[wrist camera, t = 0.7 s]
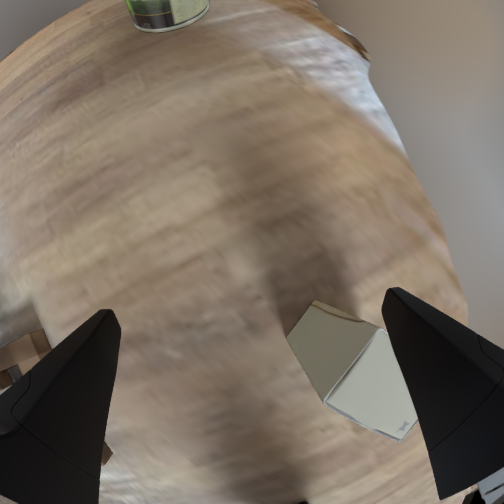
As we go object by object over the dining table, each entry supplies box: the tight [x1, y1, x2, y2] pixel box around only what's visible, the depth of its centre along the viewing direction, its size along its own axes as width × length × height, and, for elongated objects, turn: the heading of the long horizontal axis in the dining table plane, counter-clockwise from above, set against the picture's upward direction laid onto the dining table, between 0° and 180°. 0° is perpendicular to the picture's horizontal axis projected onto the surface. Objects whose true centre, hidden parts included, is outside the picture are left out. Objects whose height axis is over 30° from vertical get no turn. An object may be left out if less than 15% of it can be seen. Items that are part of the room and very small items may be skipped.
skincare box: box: [286, 300, 419, 442], centre depth 17 cm, size 6×4×12 cm
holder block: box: [0, 329, 113, 466], centre depth 19 cm, size 15×15×2 cm
